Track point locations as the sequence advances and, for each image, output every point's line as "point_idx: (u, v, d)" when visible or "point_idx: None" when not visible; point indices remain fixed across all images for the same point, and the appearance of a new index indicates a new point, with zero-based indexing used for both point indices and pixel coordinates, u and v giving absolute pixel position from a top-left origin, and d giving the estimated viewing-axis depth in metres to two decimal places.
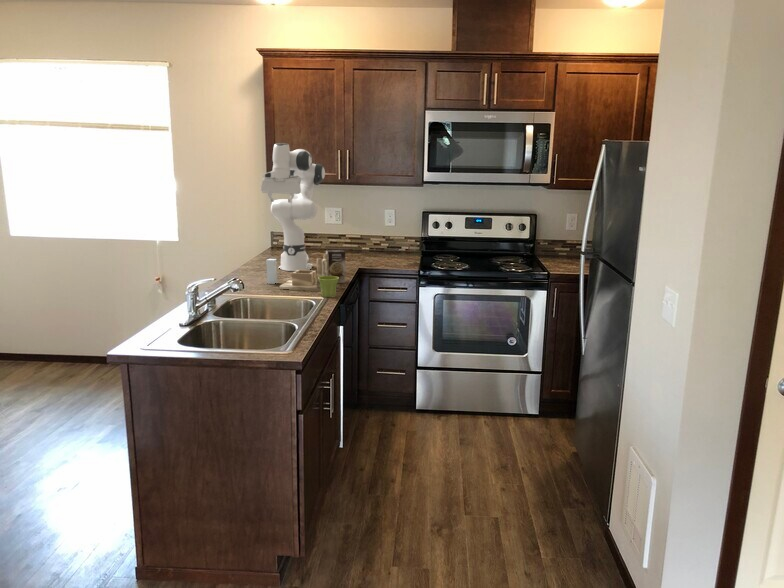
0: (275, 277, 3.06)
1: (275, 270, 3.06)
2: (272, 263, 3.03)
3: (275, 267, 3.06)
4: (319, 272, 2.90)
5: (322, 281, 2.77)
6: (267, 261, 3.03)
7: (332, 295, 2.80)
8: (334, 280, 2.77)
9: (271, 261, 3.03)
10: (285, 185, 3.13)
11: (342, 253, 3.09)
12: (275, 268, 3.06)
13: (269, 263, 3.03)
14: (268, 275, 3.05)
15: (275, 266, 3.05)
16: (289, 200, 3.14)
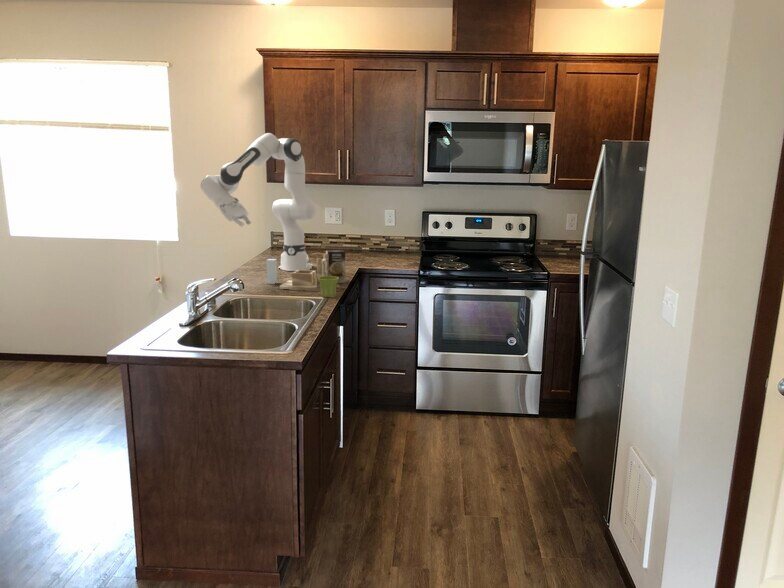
0: (275, 277, 3.06)
1: (275, 270, 3.06)
2: (272, 263, 3.03)
3: (275, 267, 3.06)
4: (319, 272, 2.90)
5: (322, 281, 2.77)
6: (267, 261, 3.03)
7: (332, 295, 2.80)
8: (334, 280, 2.77)
9: (271, 261, 3.03)
10: None
11: (342, 253, 3.09)
12: (275, 268, 3.06)
13: (269, 263, 3.03)
14: (268, 275, 3.05)
15: (275, 266, 3.05)
16: None
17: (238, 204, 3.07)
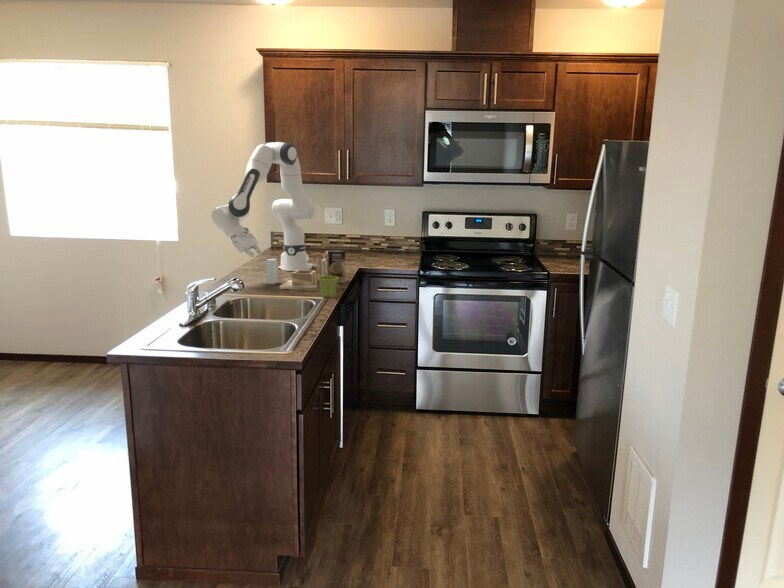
0: (275, 277, 3.06)
1: (275, 270, 3.06)
2: (272, 263, 3.03)
3: (275, 267, 3.06)
4: (319, 272, 2.90)
5: (322, 281, 2.77)
6: (267, 261, 3.03)
7: (332, 295, 2.80)
8: (334, 280, 2.77)
9: (271, 261, 3.03)
10: None
11: (342, 253, 3.09)
12: (275, 268, 3.06)
13: (269, 263, 3.03)
14: (268, 275, 3.05)
15: (275, 266, 3.05)
16: None
17: (248, 234, 3.10)
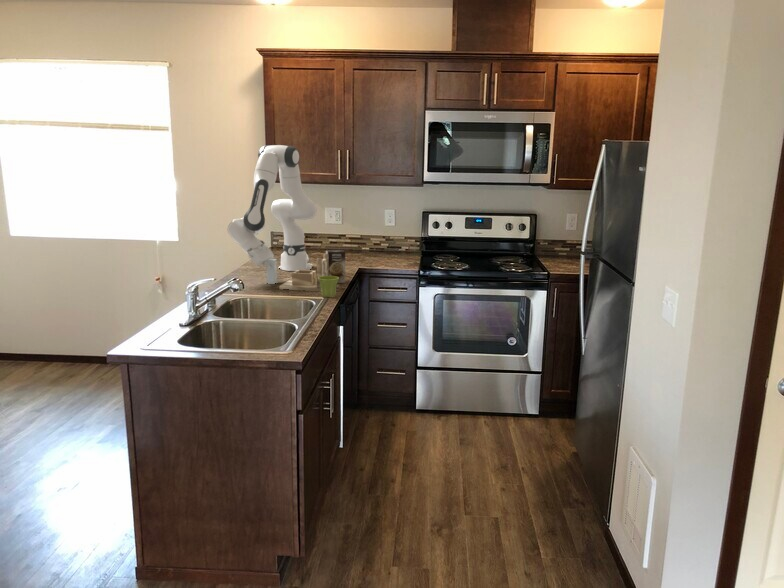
0: (275, 277, 3.06)
1: (275, 270, 3.06)
2: (272, 263, 3.03)
3: (275, 267, 3.06)
4: (319, 272, 2.90)
5: (322, 281, 2.77)
6: (267, 261, 3.03)
7: (332, 295, 2.80)
8: (334, 280, 2.77)
9: (271, 261, 3.03)
10: None
11: (342, 253, 3.09)
12: (275, 268, 3.06)
13: (270, 263, 3.03)
14: (268, 275, 3.05)
15: (275, 266, 3.05)
16: None
17: (264, 247, 3.10)
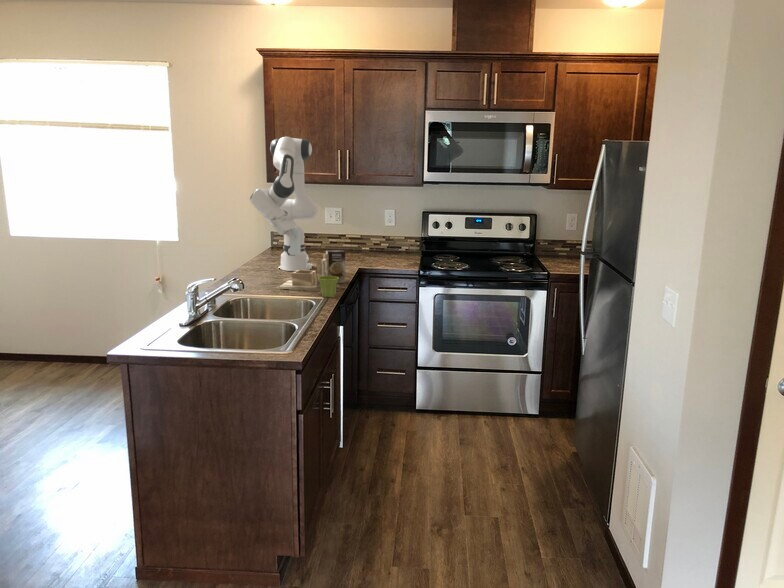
0: (299, 248, 2.97)
1: (299, 241, 2.97)
2: (296, 233, 2.94)
3: (299, 238, 2.97)
4: (319, 272, 2.90)
5: (322, 281, 2.77)
6: (291, 231, 2.94)
7: (332, 295, 2.80)
8: (334, 280, 2.77)
9: (295, 231, 2.94)
10: None
11: (342, 253, 3.09)
12: (299, 239, 2.97)
13: (293, 233, 2.94)
14: (292, 246, 2.96)
15: (299, 236, 2.96)
16: None
17: (287, 217, 3.01)
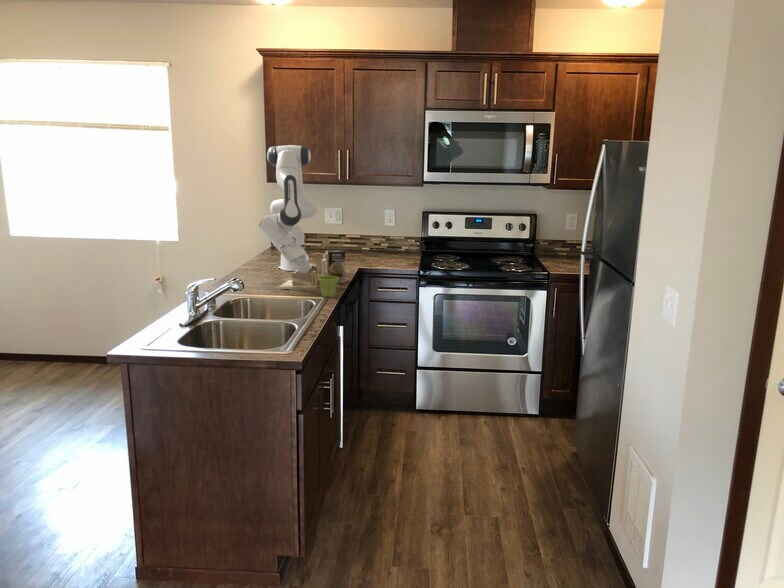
0: None
1: (308, 270, 2.98)
2: (305, 263, 2.96)
3: (308, 267, 2.98)
4: (319, 272, 2.90)
5: (322, 281, 2.77)
6: (300, 261, 2.96)
7: (332, 295, 2.80)
8: (334, 280, 2.77)
9: (304, 261, 2.96)
10: None
11: (342, 253, 3.09)
12: (308, 268, 2.98)
13: None
14: None
15: (308, 266, 2.98)
16: None
17: (296, 243, 3.02)
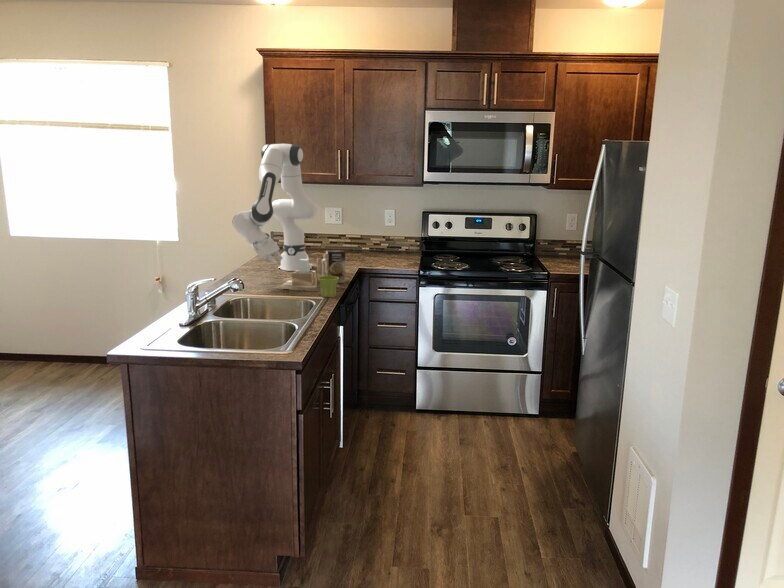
0: None
1: (308, 270, 2.98)
2: (305, 263, 2.96)
3: (308, 267, 2.98)
4: (319, 272, 2.90)
5: (322, 281, 2.77)
6: (300, 261, 2.96)
7: (332, 295, 2.80)
8: (334, 280, 2.77)
9: (304, 261, 2.96)
10: None
11: (342, 253, 3.09)
12: (308, 268, 2.98)
13: (302, 263, 2.96)
14: None
15: (308, 266, 2.98)
16: None
17: (269, 239, 3.04)
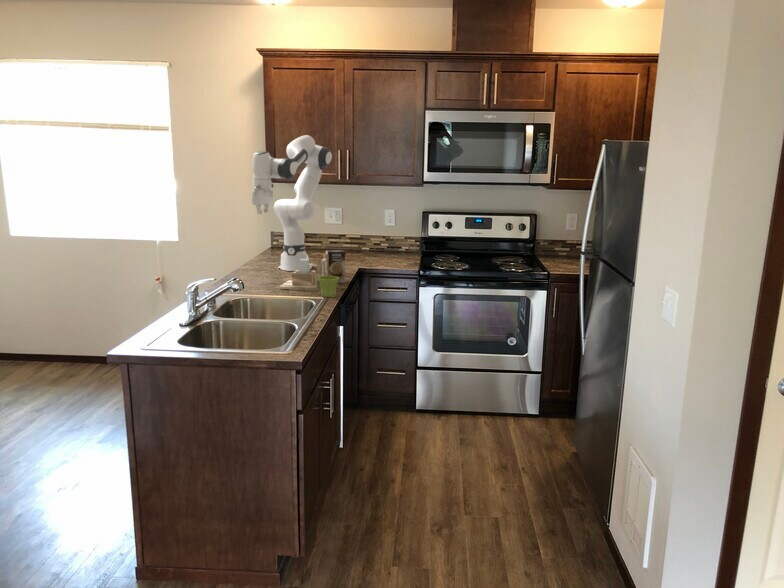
0: None
1: (308, 270, 2.98)
2: (305, 263, 2.96)
3: (308, 267, 2.98)
4: (319, 272, 2.90)
5: (322, 281, 2.77)
6: (300, 261, 2.96)
7: (332, 295, 2.80)
8: (334, 280, 2.77)
9: (304, 261, 2.96)
10: None
11: (342, 253, 3.09)
12: (308, 268, 2.98)
13: (302, 263, 2.96)
14: None
15: (308, 266, 2.98)
16: None
17: (270, 190, 3.10)
